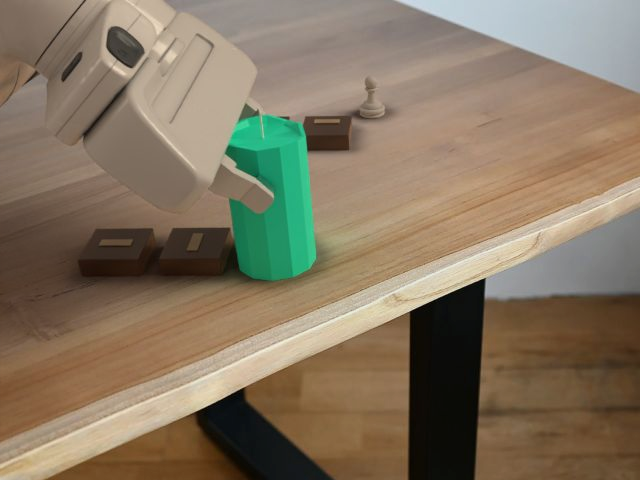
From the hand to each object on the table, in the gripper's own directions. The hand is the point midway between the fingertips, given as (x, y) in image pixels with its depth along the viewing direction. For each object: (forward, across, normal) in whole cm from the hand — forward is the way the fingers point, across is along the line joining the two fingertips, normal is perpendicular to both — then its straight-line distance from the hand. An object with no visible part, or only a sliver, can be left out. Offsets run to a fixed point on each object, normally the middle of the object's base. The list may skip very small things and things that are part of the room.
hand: (276, 177), depth 65 cm
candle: (+5, 0, -6) cm, 7 cm away
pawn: (+9, -27, -1) cm, 28 cm away
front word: (-2, 0, -12) cm, 12 cm away
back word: (+4, -21, -6) cm, 22 cm away
